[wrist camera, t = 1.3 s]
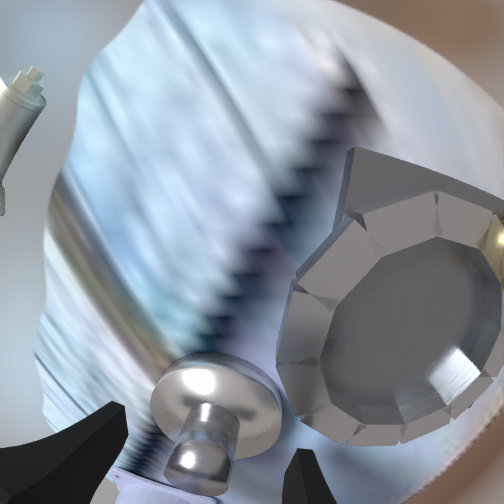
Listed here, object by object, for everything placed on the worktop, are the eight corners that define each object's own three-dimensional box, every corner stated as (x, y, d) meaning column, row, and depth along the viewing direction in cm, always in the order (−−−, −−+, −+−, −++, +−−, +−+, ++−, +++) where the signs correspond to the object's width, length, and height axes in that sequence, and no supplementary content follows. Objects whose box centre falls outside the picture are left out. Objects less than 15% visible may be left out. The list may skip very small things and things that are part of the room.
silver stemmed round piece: (267, 448, 13) (260, 521, 8) (161, 423, 14) (129, 489, 9) (295, 365, 12) (298, 454, 7) (162, 337, 12) (109, 407, 7)
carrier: (451, 411, 12) (485, 469, 7) (259, 400, 12) (246, 484, 8) (525, 216, 9) (596, 233, 4) (315, 143, 10) (341, 106, 5)
